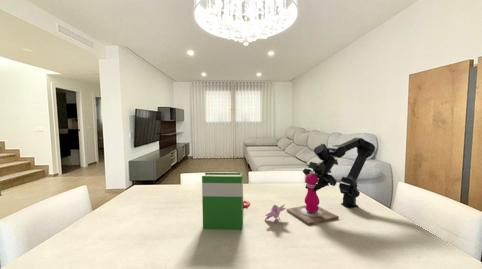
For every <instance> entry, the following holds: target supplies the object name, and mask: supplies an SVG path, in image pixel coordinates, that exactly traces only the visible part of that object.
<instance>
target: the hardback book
mask: <svg viewBox="0 0 482 269" xmlns="http://www.w3.org/2000/svg"><path fill="white" fill-rule="evenodd" d="M204 174H205V175H201V192H202V193H201V194H202V195H201V198H202V202H201V203H202V204H201V205H202V229H203V230H225V231H226V230H232V231H234V230H235V231H242V230H243V225H244V207H243V201H244V181H243V180H244V178H243V177H244V176H243V175H244V173H243V172H207V171H206V172H205V173H204Z"/></svg>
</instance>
